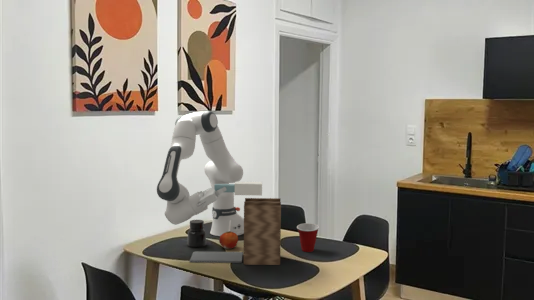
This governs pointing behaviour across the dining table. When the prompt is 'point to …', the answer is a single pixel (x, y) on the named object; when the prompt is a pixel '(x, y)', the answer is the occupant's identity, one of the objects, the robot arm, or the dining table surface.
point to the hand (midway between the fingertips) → (226, 187)
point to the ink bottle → (196, 234)
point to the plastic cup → (307, 236)
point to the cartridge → (242, 188)
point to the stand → (262, 231)
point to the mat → (217, 257)
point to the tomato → (228, 240)
